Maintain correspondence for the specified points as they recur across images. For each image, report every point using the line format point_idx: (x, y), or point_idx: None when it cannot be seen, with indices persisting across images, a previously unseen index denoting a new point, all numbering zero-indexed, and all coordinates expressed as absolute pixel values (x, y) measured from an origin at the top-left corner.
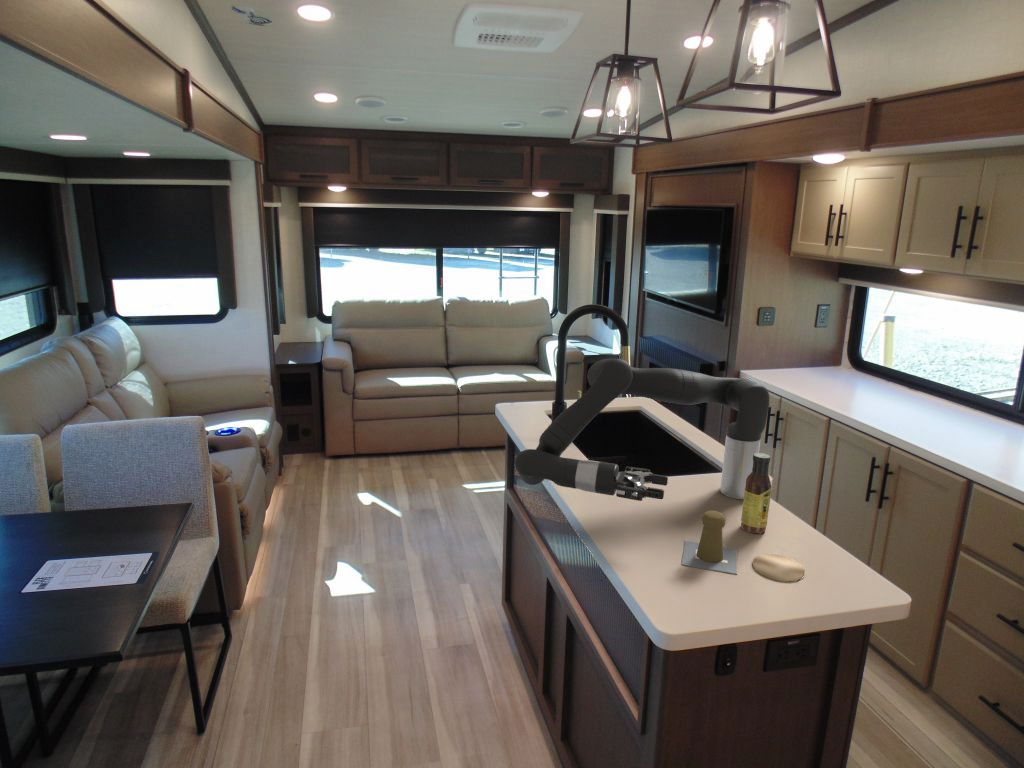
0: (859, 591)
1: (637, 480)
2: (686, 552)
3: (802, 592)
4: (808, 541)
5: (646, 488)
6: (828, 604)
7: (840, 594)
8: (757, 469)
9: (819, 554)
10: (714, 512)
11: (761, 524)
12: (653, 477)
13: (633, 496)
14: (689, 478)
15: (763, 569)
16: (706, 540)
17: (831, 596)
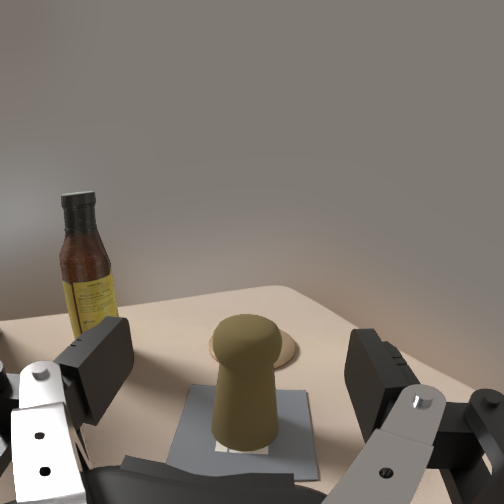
0: (279, 300)
1: (244, 488)
2: (240, 471)
3: (314, 333)
4: (148, 313)
5: (425, 386)
6: (329, 319)
7: (296, 310)
8: (89, 222)
9: (188, 311)
10: (243, 321)
11: None
12: (89, 377)
13: (474, 492)
14: None
15: None
16: (271, 396)
17: (307, 316)
